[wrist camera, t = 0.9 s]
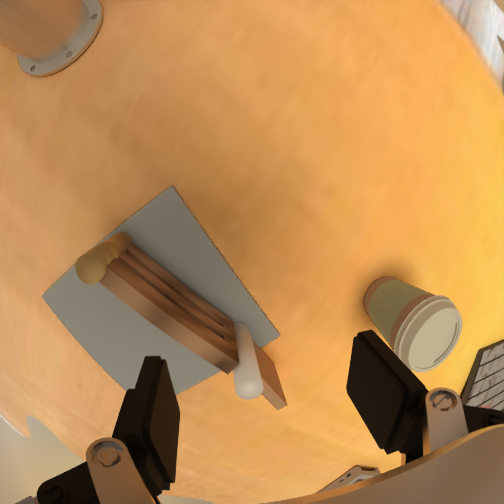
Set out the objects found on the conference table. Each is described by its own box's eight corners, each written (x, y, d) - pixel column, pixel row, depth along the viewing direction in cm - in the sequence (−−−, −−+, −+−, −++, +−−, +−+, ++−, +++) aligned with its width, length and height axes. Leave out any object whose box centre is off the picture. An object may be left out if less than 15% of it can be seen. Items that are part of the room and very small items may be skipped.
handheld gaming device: (308, 495, 48) (312, 507, 45) (355, 463, 46) (361, 476, 42) (333, 497, 50) (337, 508, 47) (377, 466, 48) (383, 477, 45)
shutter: (461, 340, 48) (426, 446, 52) (481, 351, 41) (438, 461, 45) (528, 318, 50) (498, 411, 54) (545, 325, 43) (510, 420, 47)
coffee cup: (369, 337, 37) (415, 389, 25) (342, 295, 34) (392, 345, 23) (415, 299, 36) (470, 338, 25) (394, 252, 34) (457, 285, 22)
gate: (236, 319, 32) (243, 367, 23) (222, 333, 32) (225, 383, 24) (119, 227, 28) (84, 248, 19) (107, 244, 28) (70, 271, 20)
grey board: (43, 294, 30) (-4, 335, 19) (172, 185, 29) (148, 190, 18) (163, 420, 36) (155, 478, 26) (293, 351, 36) (319, 410, 25)
